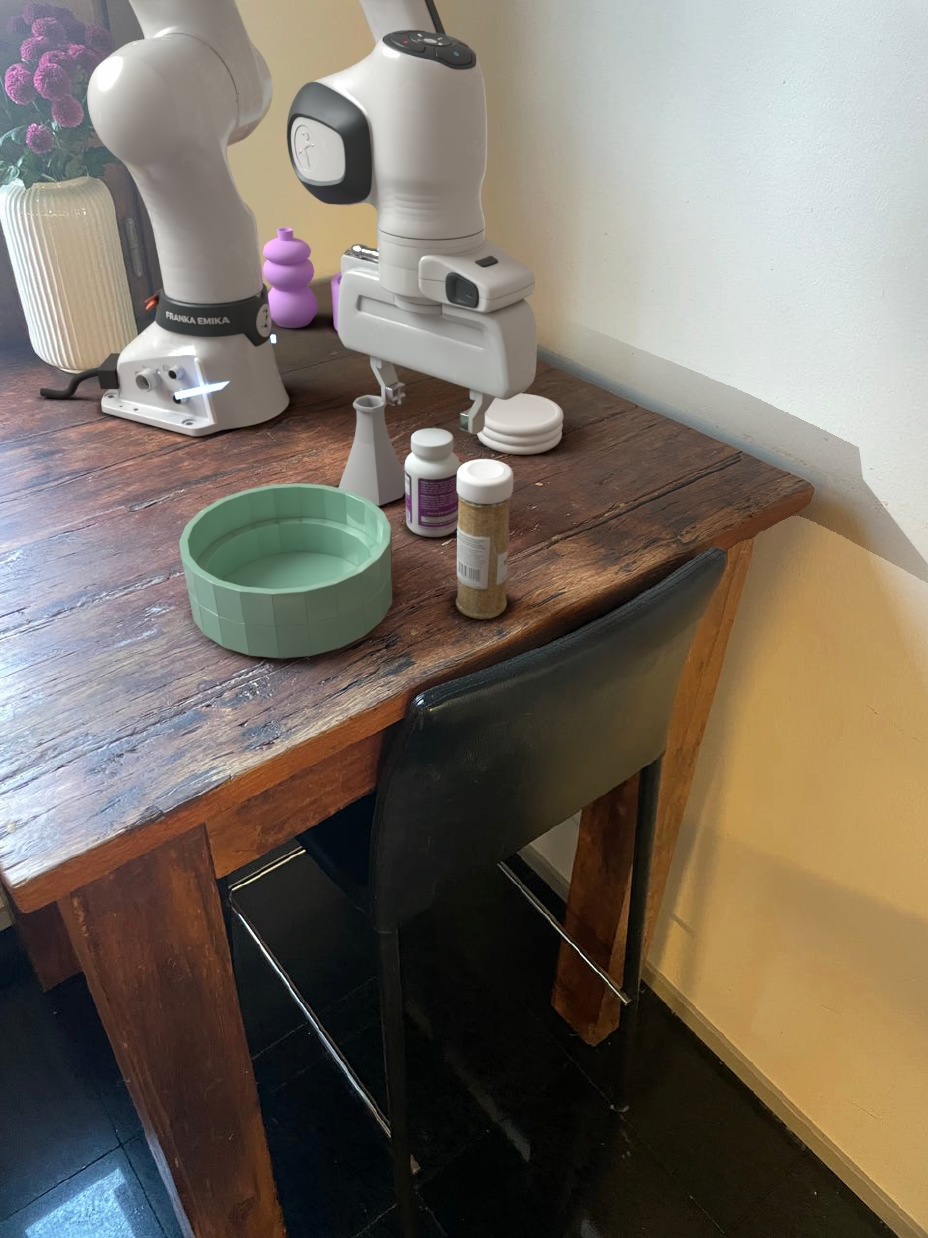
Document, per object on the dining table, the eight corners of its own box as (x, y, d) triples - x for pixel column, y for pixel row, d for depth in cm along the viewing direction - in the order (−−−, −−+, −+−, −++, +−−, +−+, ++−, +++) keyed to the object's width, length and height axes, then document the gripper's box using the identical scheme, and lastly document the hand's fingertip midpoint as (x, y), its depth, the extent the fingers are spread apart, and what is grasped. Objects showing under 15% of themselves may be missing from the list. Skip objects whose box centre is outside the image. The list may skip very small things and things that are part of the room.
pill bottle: (469, 521, 94) (472, 433, 88) (440, 544, 91) (440, 454, 85) (425, 506, 96) (424, 419, 91) (395, 528, 93) (392, 439, 87)
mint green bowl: (154, 642, 78) (138, 572, 73) (247, 535, 91) (238, 471, 87) (351, 681, 74) (346, 610, 70) (417, 564, 88) (417, 498, 84)
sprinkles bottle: (516, 610, 82) (525, 474, 74) (473, 627, 80) (477, 488, 72) (487, 585, 85) (492, 451, 77) (444, 601, 83) (445, 465, 75)
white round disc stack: (488, 414, 115) (489, 387, 113) (568, 425, 113) (571, 397, 110) (466, 449, 107) (467, 420, 105) (552, 461, 105) (554, 433, 103)
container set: (436, 307, 146) (436, 217, 138) (436, 342, 134) (436, 246, 126) (275, 305, 145) (266, 215, 137) (260, 340, 133) (249, 244, 125)
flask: (381, 514, 95) (377, 423, 89) (325, 494, 98) (318, 405, 92) (421, 485, 100) (420, 397, 94) (366, 467, 103) (362, 381, 97)
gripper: (315, 246, 81) (327, 397, 89) (506, 296, 71) (499, 460, 79) (365, 232, 85) (372, 377, 93) (552, 277, 75) (541, 435, 83)
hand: (431, 416), depth 86 cm, fingers open, 8 cm apart
